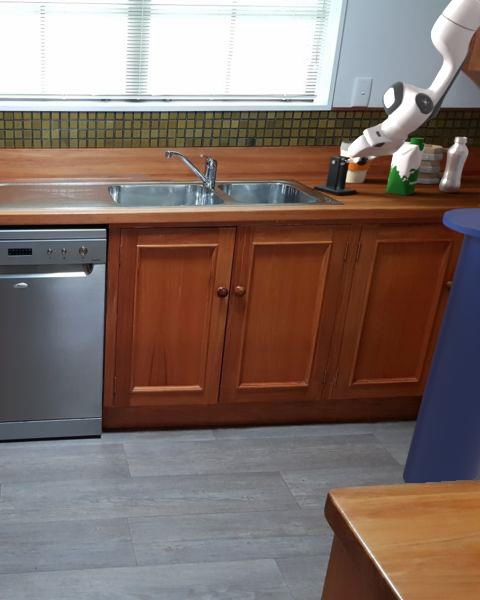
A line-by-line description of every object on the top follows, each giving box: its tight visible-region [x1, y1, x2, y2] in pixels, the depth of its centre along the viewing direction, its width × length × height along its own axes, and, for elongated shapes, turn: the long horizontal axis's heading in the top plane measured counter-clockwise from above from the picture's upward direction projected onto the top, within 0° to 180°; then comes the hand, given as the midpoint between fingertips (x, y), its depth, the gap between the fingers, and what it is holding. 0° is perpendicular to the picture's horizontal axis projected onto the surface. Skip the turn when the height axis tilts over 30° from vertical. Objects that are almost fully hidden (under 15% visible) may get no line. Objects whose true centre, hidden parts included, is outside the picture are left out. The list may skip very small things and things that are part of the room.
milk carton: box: [386, 137, 426, 197], centre depth 221 cm, size 9×9×20 cm
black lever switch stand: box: [313, 155, 358, 197], centre depth 224 cm, size 12×9×13 cm
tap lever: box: [341, 157, 367, 166], centre depth 218 cm, size 13×4×4 cm, turn 23°
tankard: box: [416, 143, 451, 185], centre depth 242 cm, size 20×13×15 cm, turn 67°
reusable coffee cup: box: [339, 140, 373, 184], centre depth 243 cm, size 13×13×15 cm
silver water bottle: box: [438, 136, 469, 194], centre depth 223 cm, size 6×7×20 cm
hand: (360, 161), depth 214 cm, fingers closed on tap lever, 3 cm apart
